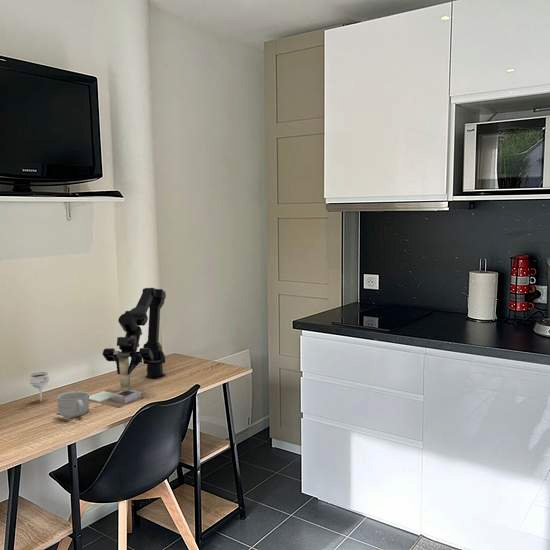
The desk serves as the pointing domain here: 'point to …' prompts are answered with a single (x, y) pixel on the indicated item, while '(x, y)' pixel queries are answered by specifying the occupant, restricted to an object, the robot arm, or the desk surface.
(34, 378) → the wineglass
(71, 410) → the teacup
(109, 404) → the board
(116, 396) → the collar
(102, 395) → the coaster
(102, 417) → the desk surface
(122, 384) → the peg
